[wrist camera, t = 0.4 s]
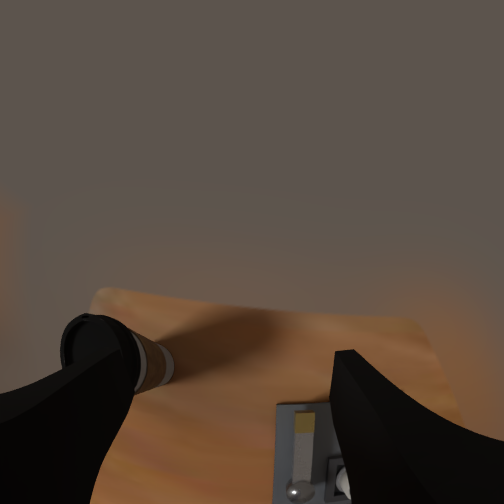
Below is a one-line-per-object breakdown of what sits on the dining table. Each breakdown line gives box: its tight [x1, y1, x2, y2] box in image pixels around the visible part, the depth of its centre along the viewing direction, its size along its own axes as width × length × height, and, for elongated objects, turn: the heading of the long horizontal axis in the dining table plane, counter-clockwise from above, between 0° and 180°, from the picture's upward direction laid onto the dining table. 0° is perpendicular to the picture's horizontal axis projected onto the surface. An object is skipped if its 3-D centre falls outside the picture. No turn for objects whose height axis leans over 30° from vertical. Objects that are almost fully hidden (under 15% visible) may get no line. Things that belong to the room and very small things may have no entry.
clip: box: [286, 410, 315, 504], centre depth 24 cm, size 12×3×2 cm, turn 179°
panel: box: [272, 402, 351, 504], centre depth 25 cm, size 16×16×2 cm
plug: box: [335, 466, 351, 500], centre depth 22 cm, size 5×5×5 cm
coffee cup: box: [60, 313, 174, 395], centre depth 26 cm, size 8×8×15 cm
